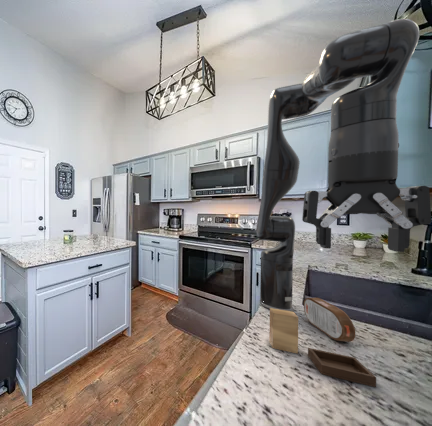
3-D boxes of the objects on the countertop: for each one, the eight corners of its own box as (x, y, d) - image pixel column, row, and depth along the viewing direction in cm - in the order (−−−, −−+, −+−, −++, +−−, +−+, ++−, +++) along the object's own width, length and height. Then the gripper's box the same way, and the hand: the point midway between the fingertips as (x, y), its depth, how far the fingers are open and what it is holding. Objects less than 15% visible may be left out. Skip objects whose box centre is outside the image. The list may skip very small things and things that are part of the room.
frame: (307, 355, 50) (307, 347, 50) (354, 366, 47) (355, 357, 47) (321, 374, 44) (321, 364, 44) (376, 387, 41) (376, 377, 41)
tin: (356, 349, 52) (357, 316, 52) (341, 347, 53) (342, 314, 53) (312, 319, 67) (312, 293, 67) (301, 318, 68) (301, 292, 68)
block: (269, 341, 55) (269, 307, 55) (292, 346, 53) (293, 311, 53) (272, 348, 52) (273, 312, 52) (297, 353, 50) (298, 317, 50)
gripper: (406, 153, 35) (403, 247, 36) (297, 162, 41) (297, 243, 42) (451, 141, 28) (447, 258, 29) (314, 155, 35) (313, 251, 35)
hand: (358, 249), depth 36 cm, fingers open, 8 cm apart
